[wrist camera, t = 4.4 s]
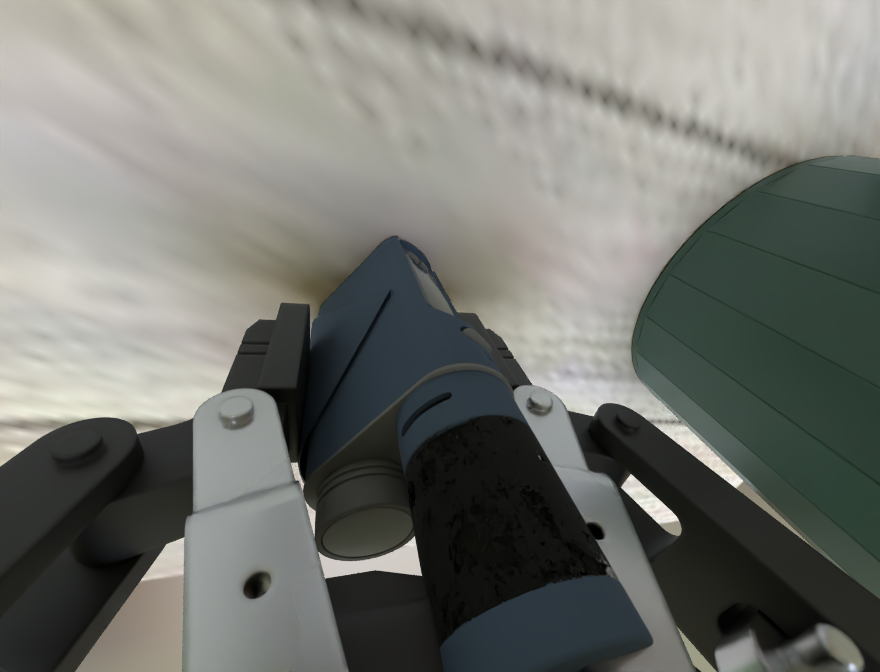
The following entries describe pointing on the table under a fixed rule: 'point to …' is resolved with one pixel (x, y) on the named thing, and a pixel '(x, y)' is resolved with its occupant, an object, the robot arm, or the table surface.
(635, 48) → the table surface
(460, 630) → the vaping device
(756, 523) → the robot arm
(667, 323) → the tin
